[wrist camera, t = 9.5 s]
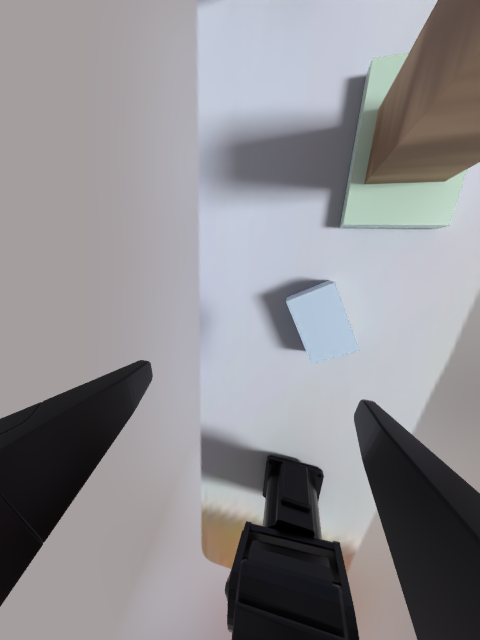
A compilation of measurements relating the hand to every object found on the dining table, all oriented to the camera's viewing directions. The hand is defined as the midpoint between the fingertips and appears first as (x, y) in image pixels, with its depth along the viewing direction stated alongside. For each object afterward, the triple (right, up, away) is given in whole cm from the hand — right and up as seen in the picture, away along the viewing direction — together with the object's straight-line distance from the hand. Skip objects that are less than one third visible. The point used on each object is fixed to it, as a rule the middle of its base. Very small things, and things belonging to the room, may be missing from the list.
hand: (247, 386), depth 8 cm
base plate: (+12, +15, +6) cm, 20 cm away
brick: (+7, +3, +11) cm, 13 cm away
